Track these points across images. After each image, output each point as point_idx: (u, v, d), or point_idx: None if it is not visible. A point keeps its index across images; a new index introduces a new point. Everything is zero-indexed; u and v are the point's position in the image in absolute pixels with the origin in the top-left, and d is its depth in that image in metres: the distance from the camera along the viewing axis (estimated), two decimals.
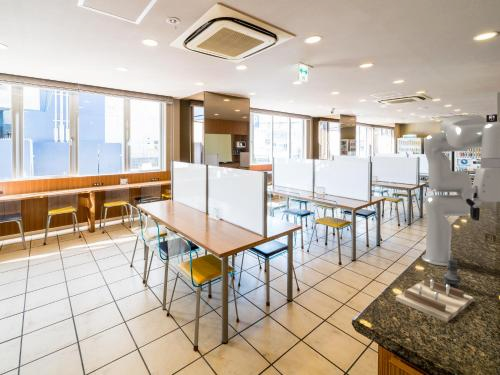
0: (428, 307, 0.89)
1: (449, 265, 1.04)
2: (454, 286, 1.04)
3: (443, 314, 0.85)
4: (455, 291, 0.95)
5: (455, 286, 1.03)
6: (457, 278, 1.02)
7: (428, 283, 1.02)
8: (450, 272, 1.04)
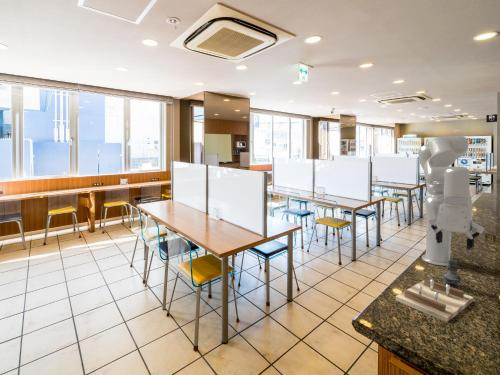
0: (428, 307, 0.89)
1: (449, 265, 1.04)
2: (454, 286, 1.04)
3: (443, 314, 0.85)
4: (455, 291, 0.95)
5: (455, 286, 1.03)
6: (457, 278, 1.02)
7: (428, 283, 1.02)
8: (450, 272, 1.04)
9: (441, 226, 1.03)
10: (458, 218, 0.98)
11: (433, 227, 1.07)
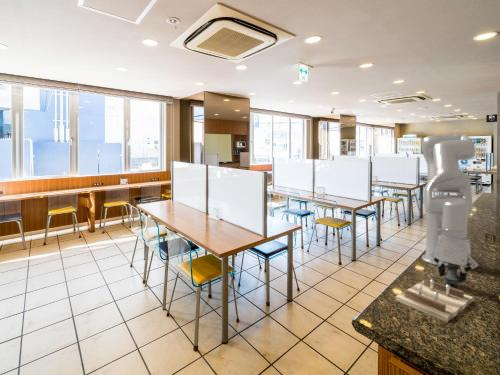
0: (428, 307, 0.89)
1: (449, 265, 1.04)
2: (454, 286, 1.04)
3: (443, 314, 0.85)
4: (455, 291, 0.95)
5: (455, 286, 1.03)
6: (457, 278, 1.02)
7: (428, 283, 1.02)
8: (450, 272, 1.04)
9: (439, 257, 1.05)
10: (456, 251, 1.00)
11: (436, 260, 1.08)
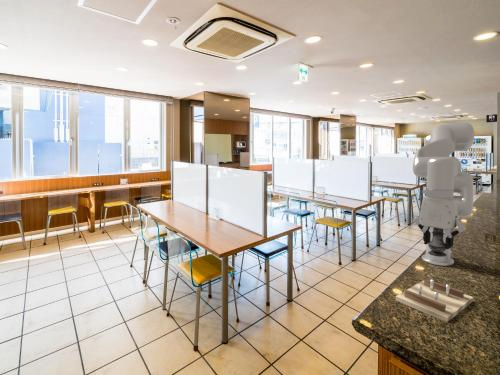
0: (428, 307, 0.89)
1: (434, 230, 0.93)
2: (440, 253, 0.92)
3: (443, 314, 0.85)
4: (455, 291, 0.95)
5: (441, 254, 0.92)
6: (443, 244, 0.91)
7: (428, 283, 1.02)
8: (435, 238, 0.92)
9: (424, 222, 0.94)
10: (442, 213, 0.89)
11: (420, 226, 0.97)
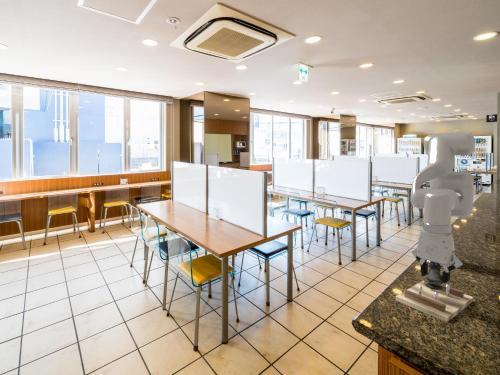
0: (428, 307, 0.89)
1: (431, 264, 0.93)
2: (437, 286, 0.93)
3: (443, 314, 0.85)
4: (455, 291, 0.95)
5: (438, 287, 0.93)
6: (440, 278, 0.92)
7: None
8: (432, 271, 0.93)
9: (421, 255, 0.94)
10: (438, 248, 0.90)
11: (417, 258, 0.97)
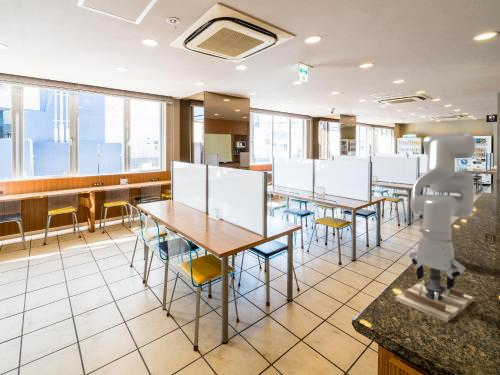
0: (428, 307, 0.89)
1: (431, 274, 0.94)
2: None
3: (443, 314, 0.85)
4: (455, 291, 0.95)
5: (438, 297, 0.93)
6: (440, 288, 0.92)
7: None
8: (432, 282, 0.94)
9: (421, 261, 0.95)
10: (438, 255, 0.90)
11: (414, 261, 0.99)
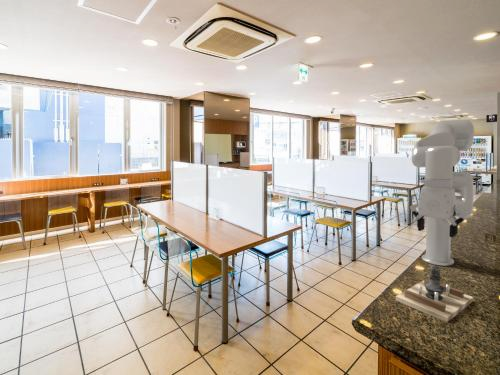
0: (428, 307, 0.89)
1: (431, 274, 0.94)
2: None
3: (443, 314, 0.85)
4: (455, 291, 0.95)
5: (438, 297, 0.93)
6: (440, 289, 0.92)
7: None
8: (432, 282, 0.94)
9: (422, 212, 0.93)
10: (440, 203, 0.88)
11: (414, 213, 0.97)
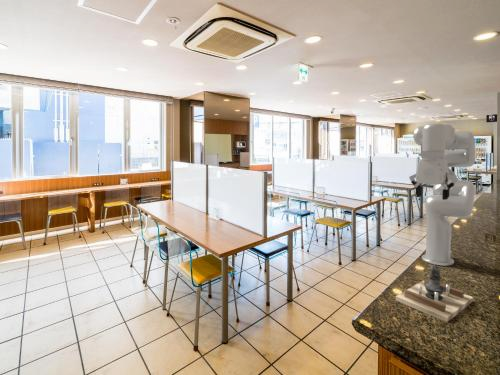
0: (428, 307, 0.89)
1: (431, 274, 0.94)
2: None
3: (443, 314, 0.85)
4: (455, 291, 0.95)
5: (438, 297, 0.93)
6: (440, 289, 0.92)
7: None
8: (432, 282, 0.94)
9: (420, 180, 1.10)
10: (435, 171, 1.05)
11: (413, 182, 1.14)
